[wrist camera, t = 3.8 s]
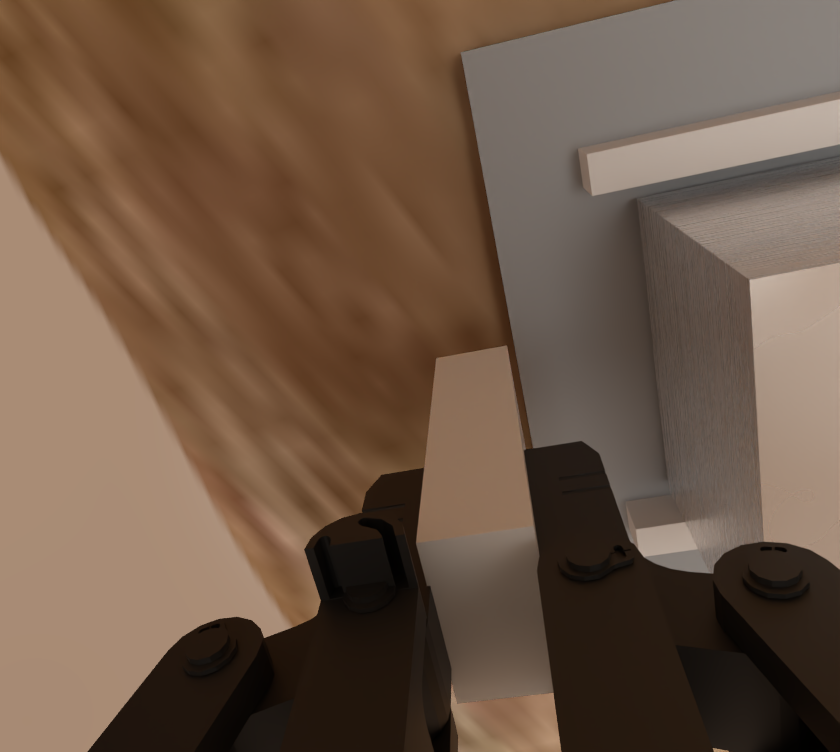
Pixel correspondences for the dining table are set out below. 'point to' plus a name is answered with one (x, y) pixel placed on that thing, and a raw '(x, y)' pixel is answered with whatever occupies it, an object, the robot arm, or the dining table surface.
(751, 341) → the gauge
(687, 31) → the grey slider board
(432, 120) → the dining table surface
